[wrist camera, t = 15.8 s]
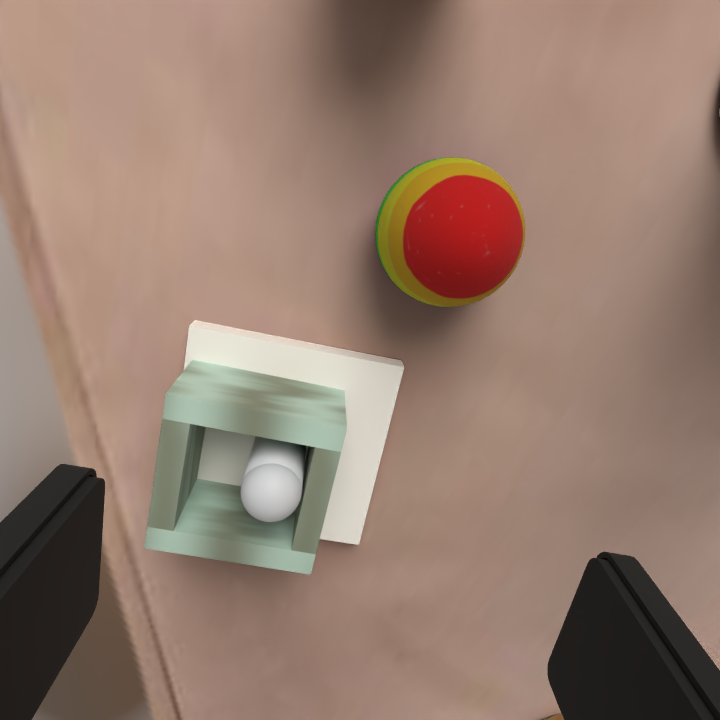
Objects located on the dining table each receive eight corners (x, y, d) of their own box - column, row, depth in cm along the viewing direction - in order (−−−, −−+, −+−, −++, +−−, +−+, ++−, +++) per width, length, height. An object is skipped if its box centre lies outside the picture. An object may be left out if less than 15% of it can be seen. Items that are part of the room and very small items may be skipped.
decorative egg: (443, 315, 37) (483, 361, 27) (345, 242, 35) (351, 263, 25) (523, 214, 35) (596, 225, 25) (424, 132, 33) (463, 110, 23)
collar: (344, 390, 36) (347, 428, 30) (313, 517, 39) (310, 574, 33) (192, 359, 35) (165, 393, 29) (172, 493, 38) (144, 548, 32)
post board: (401, 360, 37) (423, 414, 29) (357, 532, 41) (365, 626, 33) (195, 320, 36) (150, 364, 27) (170, 503, 40) (125, 593, 31)
